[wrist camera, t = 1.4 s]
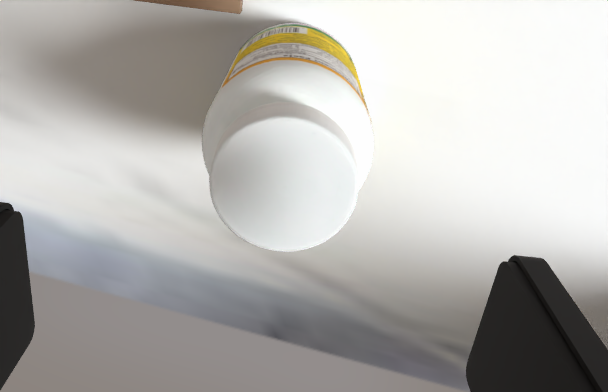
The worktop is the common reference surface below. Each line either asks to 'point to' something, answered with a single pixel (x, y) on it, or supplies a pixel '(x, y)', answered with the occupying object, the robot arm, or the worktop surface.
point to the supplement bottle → (288, 139)
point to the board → (204, 4)
